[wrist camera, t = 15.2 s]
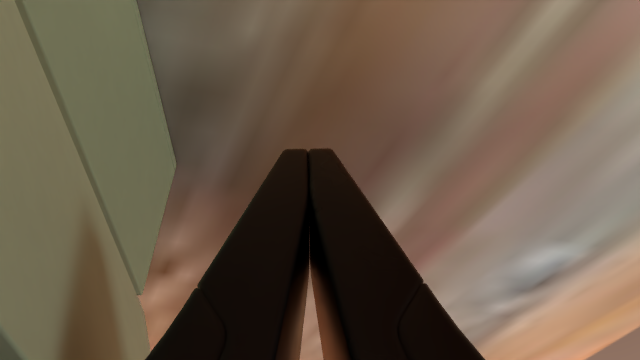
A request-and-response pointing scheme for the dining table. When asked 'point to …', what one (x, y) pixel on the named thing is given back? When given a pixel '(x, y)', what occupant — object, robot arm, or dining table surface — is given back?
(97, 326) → the flap
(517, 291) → the dining table surface
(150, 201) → the carton
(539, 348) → the dining table surface
